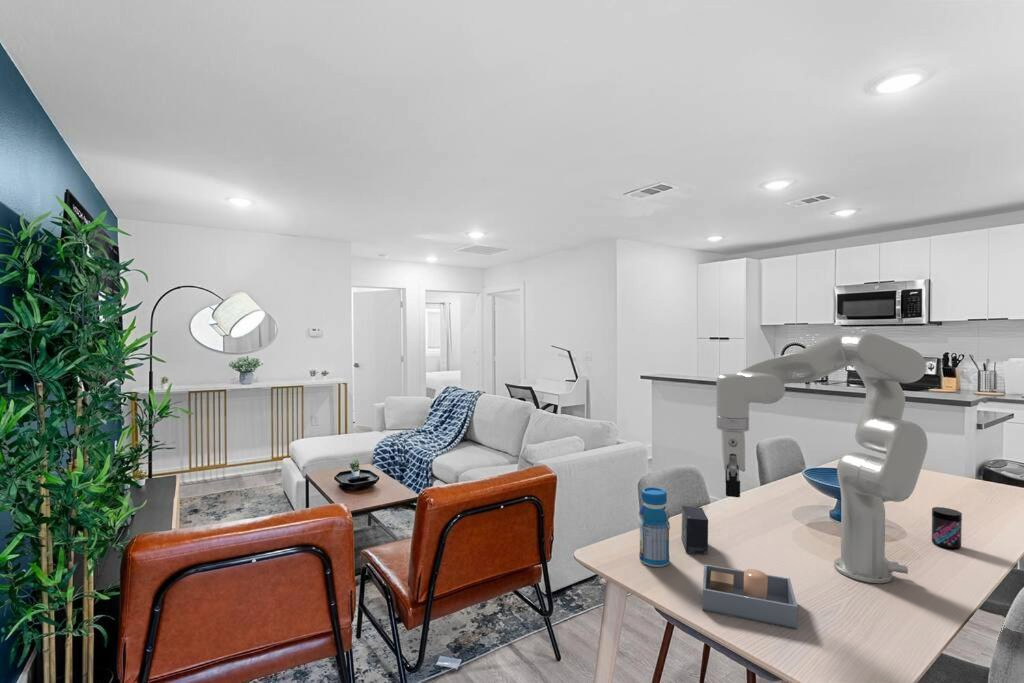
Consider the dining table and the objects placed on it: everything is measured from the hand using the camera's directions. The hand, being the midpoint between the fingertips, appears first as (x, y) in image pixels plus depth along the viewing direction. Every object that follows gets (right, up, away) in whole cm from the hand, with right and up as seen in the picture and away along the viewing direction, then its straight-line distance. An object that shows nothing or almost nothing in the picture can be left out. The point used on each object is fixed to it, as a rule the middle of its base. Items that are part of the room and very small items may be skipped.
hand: (732, 490), depth 125 cm
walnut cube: (-5, -24, -6) cm, 25 cm away
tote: (0, -25, -8) cm, 26 cm away
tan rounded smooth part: (+1, -24, -9) cm, 26 cm away
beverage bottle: (-16, -24, +14) cm, 32 cm away
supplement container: (+73, -23, +22) cm, 80 cm away
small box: (-1, -24, +23) cm, 33 cm away
